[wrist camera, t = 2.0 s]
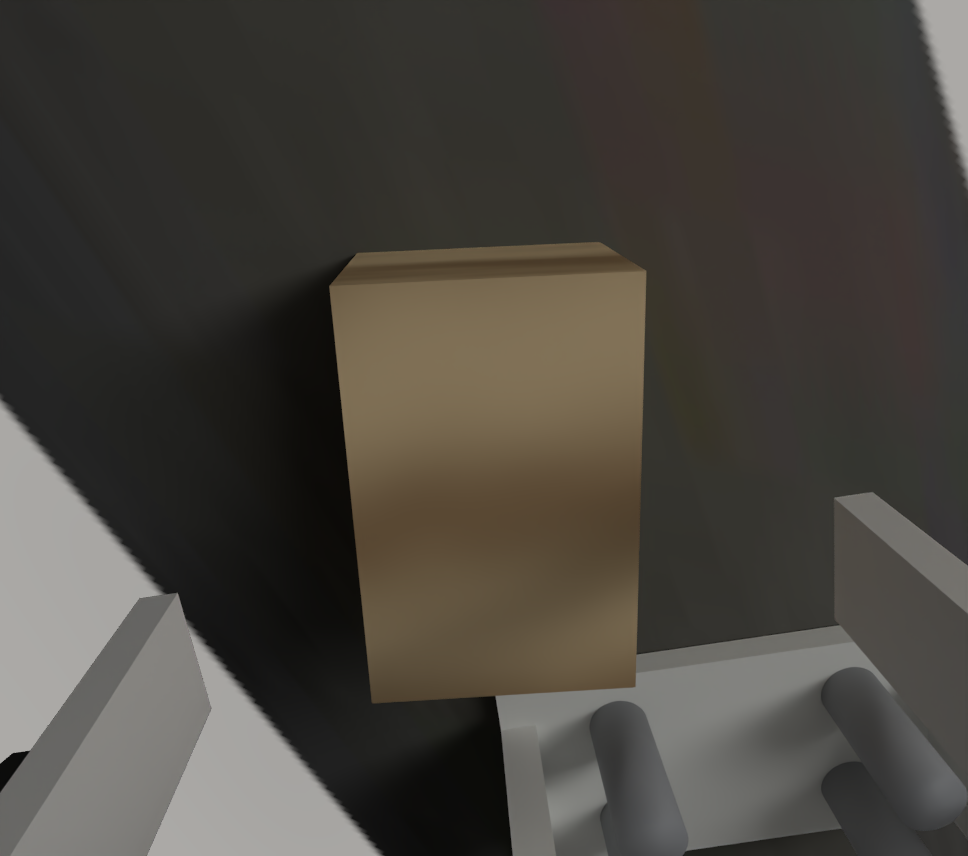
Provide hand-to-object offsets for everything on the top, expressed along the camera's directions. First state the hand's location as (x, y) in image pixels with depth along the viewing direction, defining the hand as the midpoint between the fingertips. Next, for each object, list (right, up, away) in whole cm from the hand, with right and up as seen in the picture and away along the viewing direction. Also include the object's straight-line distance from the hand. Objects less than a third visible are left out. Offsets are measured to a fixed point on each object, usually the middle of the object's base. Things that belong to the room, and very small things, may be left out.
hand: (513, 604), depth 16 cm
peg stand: (+8, -8, +13) cm, 17 cm away
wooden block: (-1, +4, +9) cm, 10 cm away
